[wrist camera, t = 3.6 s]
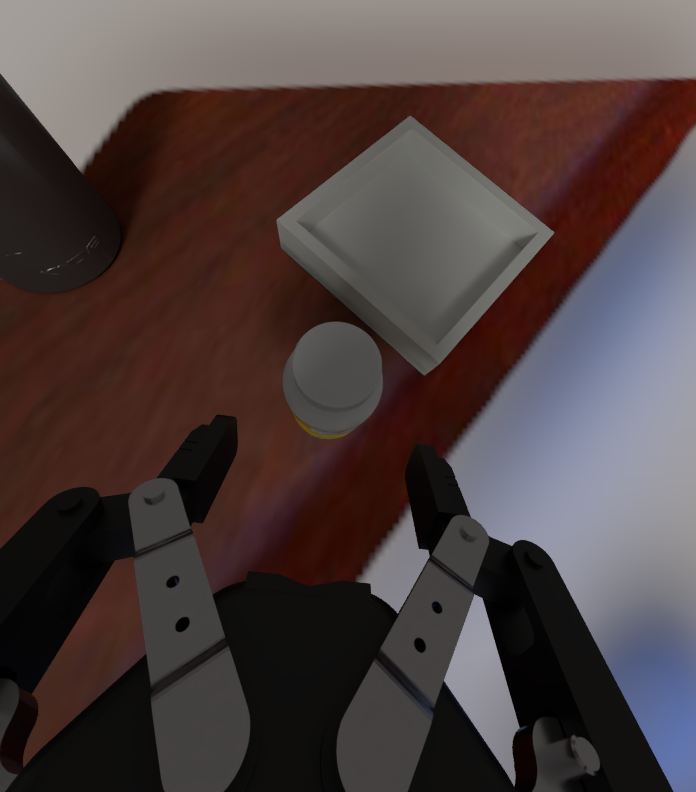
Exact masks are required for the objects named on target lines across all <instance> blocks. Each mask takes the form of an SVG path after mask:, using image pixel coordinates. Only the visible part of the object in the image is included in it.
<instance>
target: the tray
mask: <svg viewBox="0 0 696 792" xmlns="http://www.w3.org/2000/svg"><path fill="white" fill-rule="evenodd" d="M277 226H278V232H279V238H280V244H281V249H282V250H283V251H285V252H286V253H287V254H288V255H289V256H290V257H291V258H292V259H294V260H295V261H296V262H297V263H298V264H299V265H300V266H301V267H303V268H304V269H305V270H306V271H307V272H308V273H309V274H310V275H312V276H313V277H314V278H315V279H316V280H317V281H318V282H319V283H321V284H322V285H323V286H324V287H325V288H326V289H327V290H328V291H330V292H331V293H332V294H333V295H334V296H335V297H336V298H337V299H339V300H340V301H341V302H342V303H343V304H344V305H345V306H346V307H348V308H349V309H350V310H351V311H352V312H353V313H354V314H355V315H357V316H358V317H359V318H360V319H361V320H362V321H363V322H364V323H366V324H367V325H368V326H369V327H370V328H371V329H372V330H373V331H375V332H376V333H377V334H378V335H379V336H380V337H381V338H382V339H384V340H385V341H386V342H387V343H388V344H389V345H390V346H391V347H393V348H394V349H395V350H396V351H397V352H398V353H399V354H400V355H402V356H403V357H404V358H405V359H406V360H407V361H408V362H409V363H411V364H412V365H413V366H414V367H415V368H416V369H417V370H418V371H420V372H421V373H422V374H423V375H424V376H425V375H426V374H427V373H428V372H430V371H431V370H432V369H434V368H435V367H436V366H437V365H439V364H440V363H441V362H442V361H443V359H444V358H445V357H446V356H447V355H448V354H449V353H450V351H451V350H452V349H453V348H454V347H455V346H456V345H457V343H458V342H459V341H460V340H461V339H462V338H463V337H464V335H465V334H466V333H467V332H468V331H469V330H470V329H471V327H472V326H473V325H474V324H475V323H476V322H477V321H478V319H479V318H480V317H481V316H482V315H483V314H484V313H485V311H486V310H487V309H488V308H489V307H490V306H491V305H492V303H493V302H494V301H495V300H496V299H497V298H498V297H499V296H500V294H501V293H502V292H503V291H504V290H505V289H506V288H507V286H508V285H509V284H510V283H511V282H512V281H513V280H514V278H515V277H516V276H517V275H518V274H519V273H520V272H521V270H522V269H523V268H524V267H525V266H526V265H527V264H528V262H529V261H530V260H531V259H532V258H533V257H534V256H535V254H536V253H537V252H538V251H539V250H540V249H541V248H542V246H543V245H544V244H545V243H546V242H547V241H548V240H549V238H550V237H551V236H552V235H553V234H554V232H553V231H552V230H551V229H549V228H548V227H547V226H546V225H544V224H543V223H542V222H541V221H539V220H538V219H537V218H536V217H535V216H533V215H532V214H531V213H530V212H528V211H527V210H526V209H525V208H523V207H522V206H521V205H520V204H519V203H517V202H516V201H515V200H514V199H512V198H511V197H510V196H509V195H507V194H506V193H505V192H504V191H503V190H501V189H500V188H499V187H498V186H496V185H495V184H494V183H493V182H491V181H490V180H489V179H488V178H487V177H485V176H484V175H483V174H482V173H480V172H479V171H478V170H477V169H475V168H474V167H473V166H472V165H471V164H469V163H468V162H467V161H466V160H464V159H463V158H462V157H461V156H459V155H458V154H457V153H456V152H455V151H453V150H452V149H451V148H450V147H448V146H447V145H446V144H445V143H443V142H442V141H441V140H440V139H439V138H437V137H436V136H435V135H434V134H432V133H431V132H430V131H429V130H427V129H426V128H425V127H424V126H423V125H421V124H420V123H419V122H418V121H416V120H415V119H414V118H413V117H411V116H409V117H408V118H406V119H405V120H404V121H403V122H401V123H400V124H399V125H397V126H396V127H395V128H394V129H392V130H391V131H390V132H389V133H387V134H386V135H385V136H383V137H382V138H381V139H380V140H378V141H377V142H376V143H374V144H373V145H372V146H371V147H369V148H368V149H367V150H365V151H364V152H363V153H362V154H360V155H359V156H358V157H356V158H355V159H354V160H353V161H351V162H350V163H349V164H348V165H346V166H345V167H344V168H342V169H341V170H340V171H339V172H337V173H336V174H335V175H333V176H332V177H331V178H330V179H328V180H327V181H326V182H324V183H323V184H322V185H321V186H319V187H318V188H317V189H315V190H314V191H313V192H312V193H310V194H309V195H308V196H307V197H305V198H304V199H303V200H301V201H300V202H299V203H298V204H296V205H295V206H294V207H292V208H291V209H290V210H289V211H287V212H286V213H285V214H283V215H282V216H281V217H280V218H278V219H277Z"/></svg>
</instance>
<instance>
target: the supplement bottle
mask: <svg viewBox="0 0 696 792" xmlns="http://www.w3.org/2000/svg"><path fill="white" fill-rule="evenodd" d="M382 389H383V376H382V360H381V355H380V352H379V349H378V347H377V345H376V343H375V342H374V340H373V339H372V338H371V337H370V336H369V335H368V334H367V333H366V332H365V331H363V330H362V329H360V328H358V327H357V326H354V325H352V324H349V323H344V322H327V323H323V324H320V325H318V326H316V327H314V328H312V329H311V330H309V331H308V332H307V333H306V334H304V335H303V337H302V338H301V339H300V340H299V342H298V344H297V345H296V348H295V350H294V351H293V353H292V354H291V356H290V357H289V359H288V361H287V363H286V366H285V369H284V373H283V391H284V395H285V398H286V401H287V403H288V405H289V407H290V409H291V411H292V413H293V415H294V417H295V419H296V421H297V422H298V424H299V425H300V426H301V427H302V429H304V430H305V431H306V432H307V433H309V434H311V435H313V436H315V437H318V438H322V439H335V438H339V437H342V436H344V435H347V434H348V433H350V432H351V431H353V430H354V429H355V428H356V427H357V426H359V425H360V424H361V423H363V422H364V421H365V420H366V419H367V418H368V417H369V416H370V415H371V414H372V412H373V411H374V410H375V408H376V407H377V405H378V403H379V400H380V398H381V394H382Z"/></svg>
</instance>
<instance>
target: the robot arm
mask: <svg viewBox="0 0 696 792" xmlns="http://www.w3.org/2000/svg"><path fill="white" fill-rule="evenodd" d="M120 240H121V233H120V226H119V223H118V220H117V218H116V216H115V215H114V213H113V212H112V210H111V209H110V208H109V206H108V205H107V204H106V203H105V201H104V200H103V199H102V198H101V197H100V195H99V194H98V193H97V192H96V190H95V189H94V188H93V187H92V186H91V184H90V183H89V182H88V181H87V179H86V178H85V177H84V176H83V175H82V173H81V172H80V171H79V170H78V168H77V167H76V166H75V165H74V163H73V162H72V161H71V159H70V158H69V157H68V156H67V155H66V153H65V152H64V151H63V150H62V149H61V147H60V146H59V145H58V144H57V142H56V141H55V140H54V139H53V137H52V136H51V135H50V134H49V133H48V131H47V130H46V129H45V128H44V126H43V125H42V124H41V123H40V122H39V120H38V119H37V118H36V117H35V115H34V114H33V113H32V112H31V110H30V109H29V108H28V107H27V106H26V105H25V103H24V102H23V101H22V100H21V98H20V97H19V96H18V95H17V93H16V92H15V91H14V90H13V88H12V87H11V86H10V85H9V84H8V83H7V81H6V80H5V79H4V77H3V76H2V75H1V74H0V278H2V279H3V280H5V281H7V282H8V283H10V284H12V285H14V286H16V287H19V288H22V289H25V290H28V291H35V292H41V293H43V292H60V291H65V290H70V289H73V288H76V287H79V286H81V285H84V284H86V283H87V282H89V281H91V280H93V279H94V278H96V277H97V276H98V275H100V274H101V273H102V272H103V271H104V270H106V269H107V267H108V266H109V265H110V263H111V262H112V261H113V260H114V258H115V256H116V254H117V251H118V249H119V245H120ZM237 447H238V437H237V419H236V417H232V416H225V415H216V416H215V418H214V419H213V421H212V422H211V424H210V425H203V424H202V425H201V426H199V427H198V428H196V429H195V430H193V431H191V433H190V434H189V435H188V437H187V438H186V439H185V442H183V443H182V445H181V446H180V448H179V450H177V452H176V453H175V454H174V456H173V457H172V458H171V460H170V461H169V462H168V464H167V465H166V466H165V468H164V469H163V470H162V472H161V473H160V474H159V476H158V477H157V478H156V479H153V480H150V481H147V482H145V483H143V484H141V485H140V486H138V487H137V488H136V489H135V490H134V491H133V492H132V493H127V494H121V495H113V496H106V497H100V496H99V493H98V492H97V491H96V490H95V489H93V488H89V487H78V488H73V489H69V490H66V491H64V492H61V493H59V494H57V495H56V496H54V497H52V498H51V499H50V500H48V501H47V502H46V503H45V504H44V505H43V506H42V507H41V508H40V509H39V510H38V511H37V512H36V513H35V514H34V515H33V516H32V517H31V518H30V519H29V520H28V521H27V522H26V523H25V524H24V525H23V526H22V527H21V528H20V529H19V531H18V532H17V533H16V534H15V535H14V536H13V537H12V538H11V539H10V540H9V541H8V542H7V543H6V544H5V545H4V546H3V547H2V548H1V549H0V792H673V790H672V788H671V786H670V784H669V782H668V780H667V778H666V776H665V775H664V773H663V771H662V769H661V767H660V765H659V763H658V761H657V759H656V757H655V755H654V754H653V752H652V750H651V748H650V746H649V744H648V742H647V740H646V738H645V736H644V734H643V732H642V731H641V729H640V727H639V725H638V723H637V721H636V719H635V717H634V715H633V713H632V711H631V710H630V708H629V706H628V704H627V702H626V700H625V698H624V696H623V694H622V692H621V690H620V689H619V687H618V685H617V683H616V681H615V679H614V677H613V675H612V673H611V671H610V669H609V667H608V666H607V664H606V662H605V660H604V658H603V656H602V654H601V652H600V650H599V648H598V646H597V645H596V643H595V641H594V639H593V637H592V635H591V633H590V631H589V629H588V627H587V626H586V623H585V622H584V620H583V618H582V616H581V614H580V612H579V610H578V608H577V606H576V604H575V603H574V601H573V599H572V597H571V595H570V593H569V591H568V589H567V587H566V585H565V583H564V581H563V580H562V578H561V576H560V574H559V572H558V570H557V568H556V566H555V564H554V562H553V561H552V559H551V558H550V556H549V555H548V554H547V553H546V552H545V551H544V550H543V549H542V548H540V547H539V546H537V545H536V544H534V543H532V542H529V541H526V540H519V541H517V542H515V543H514V545H513V546H510V545H508V544H506V543H503V542H501V541H498V540H496V539H493V538H491V537H489V536H488V534H487V532H486V531H485V529H484V528H483V527H482V525H481V524H480V523H478V522H477V521H476V520H474V519H472V518H471V516H470V514H469V512H468V509H467V506H466V503H465V501H464V498H463V496H462V493H461V491H460V488H459V487H458V483H457V481H456V479H455V475H454V473H453V470H452V468H451V466H450V465H449V464H448V463H447V462H446V460H445V459H444V458H438V455H437V452H436V450H435V447H434V446H433V445H426V444H419V443H417V444H416V445H415V446H414V449H413V451H412V454H411V457H410V459H409V462H408V464H407V467H406V472H405V480H406V486H407V491H408V496H409V501H410V506H411V511H412V516H413V521H414V527H415V532H416V537H417V542H418V547H419V549H426V550H429V555H430V557H429V559H428V561H427V563H426V565H425V566H424V568H423V570H422V572H421V573H420V575H419V577H418V579H417V581H416V582H415V584H414V586H413V588H412V590H411V592H410V593H409V595H408V597H407V599H406V600H405V602H404V604H403V606H402V607H401V609H400V611H399V613H398V614H397V613H396V611H395V610H394V609H393V608H392V607H390V605H388V604H387V603H386V602H384V601H383V600H382V599H380V598H378V597H377V596H375V595H373V594H371V586H370V584H368V583H359V582H349V581H337V582H332V583H326V584H321V585H315V586H307V585H304V584H302V583H299V582H297V581H294V580H292V579H289V578H287V577H284V576H282V575H279V574H271V573H261V572H251V571H248V574H247V578H246V581H243V582H238V583H235V584H232V585H230V586H228V587H225V588H223V589H221V590H220V591H218V592H216V593H215V594H213V595H212V593H211V589H210V586H209V583H208V580H207V576H206V573H205V570H204V567H203V563H202V560H201V557H200V554H199V550H198V547H197V544H196V541H195V537H194V534H193V531H192V530H191V528H190V527H191V525H192V523H193V522H196V523H203V522H204V520H205V518H206V516H207V514H208V511H209V509H210V507H211V505H212V503H213V501H214V499H215V497H216V495H217V493H218V491H219V489H220V487H221V485H222V483H223V481H224V479H225V477H226V475H227V472H228V470H229V468H230V466H231V464H232V462H233V460H234V458H235V456H236V452H237ZM129 557H134V567H135V574H136V581H137V588H138V596H139V603H140V610H141V617H142V625H143V632H144V639H145V646H146V654H145V655H144V656H143V657H142V658H141V659H140V660H139V661H138V662H137V663H136V664H134V665H133V666H132V667H131V668H130V669H129V670H128V671H127V672H126V673H124V674H123V675H122V676H121V677H120V678H119V679H118V680H117V681H116V682H114V683H113V684H112V685H111V686H110V687H109V688H108V689H107V690H106V691H104V692H103V693H102V694H101V695H100V696H99V697H98V698H97V699H96V700H95V701H93V702H92V703H91V704H90V705H89V706H88V707H87V708H86V709H85V710H83V711H82V712H81V713H80V714H79V715H78V716H77V717H76V718H75V719H73V720H72V721H71V722H70V723H69V724H68V725H67V726H66V727H65V728H63V729H62V730H61V731H60V732H59V733H58V734H57V735H56V736H55V737H54V738H52V739H51V740H50V741H49V742H48V743H47V744H46V745H45V746H44V747H43V748H42V749H41V750H40V751H39V752H38V753H37V754H36V755H35V756H34V757H33V758H32V759H31V760H30V761H29V762H28V763H27V764H26V766H25V767H24V768H23V754H24V749H25V746H26V743H27V741H28V738H29V736H30V734H31V732H32V730H33V728H34V725H35V723H36V720H37V716H38V703H37V700H36V698H35V697H34V696H33V695H31V694H32V693H33V691H34V690H35V688H36V686H37V685H38V683H39V682H40V680H41V678H42V677H43V675H44V674H45V672H46V670H47V669H48V667H49V666H50V664H51V662H52V661H53V659H54V657H55V656H56V654H57V653H58V651H59V649H60V648H61V646H62V645H63V643H64V641H65V640H66V638H67V637H68V635H69V633H70V632H71V630H72V629H73V627H74V625H75V624H76V622H77V620H78V619H79V617H80V616H81V614H82V612H83V611H84V609H85V608H86V606H87V604H88V603H89V601H90V600H91V598H92V596H93V595H94V593H95V592H96V590H97V588H98V587H99V585H100V584H101V582H102V580H103V579H104V577H105V575H106V574H107V572H108V571H109V569H110V567H111V566H112V564H113V563H114V561H115V560H119V559H124V558H129ZM474 594H475V595H478V596H479V597H482V598H483V601H484V604H485V608H486V612H487V615H488V619H489V622H490V626H491V629H492V633H493V636H494V640H495V643H496V647H497V650H498V654H499V657H500V660H501V664H502V667H503V671H504V674H505V678H506V682H507V685H508V688H509V692H510V695H511V699H512V702H513V706H514V709H515V712H516V716H517V720H518V723H519V727H520V729H518V730H517V732H516V733H515V736H514V738H513V746H512V748H513V758H514V768H515V772H516V780H515V786H513V784H512V782H511V780H510V779H509V777H508V775H507V773H506V772H505V770H504V769H503V768H502V766H501V764H500V763H499V762H498V760H497V759H496V757H495V756H494V754H493V753H492V751H491V750H490V748H489V747H488V745H487V744H486V742H485V741H484V739H483V738H482V736H481V735H480V733H479V732H478V731H477V729H476V728H475V726H474V725H473V723H472V722H471V720H470V719H469V717H468V716H467V714H466V713H465V711H464V710H463V708H462V707H461V706H460V704H459V702H458V701H457V700H456V698H455V697H454V695H453V694H452V692H451V691H450V689H449V688H448V686H447V685H446V683H445V682H444V678H445V675H446V672H447V670H448V667H449V664H450V661H451V658H452V656H453V653H454V650H455V647H456V644H457V641H458V639H459V636H460V633H461V631H462V627H463V625H464V622H465V619H466V616H467V613H468V611H469V608H470V605H471V603H472V600H473V597H474Z"/></svg>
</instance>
